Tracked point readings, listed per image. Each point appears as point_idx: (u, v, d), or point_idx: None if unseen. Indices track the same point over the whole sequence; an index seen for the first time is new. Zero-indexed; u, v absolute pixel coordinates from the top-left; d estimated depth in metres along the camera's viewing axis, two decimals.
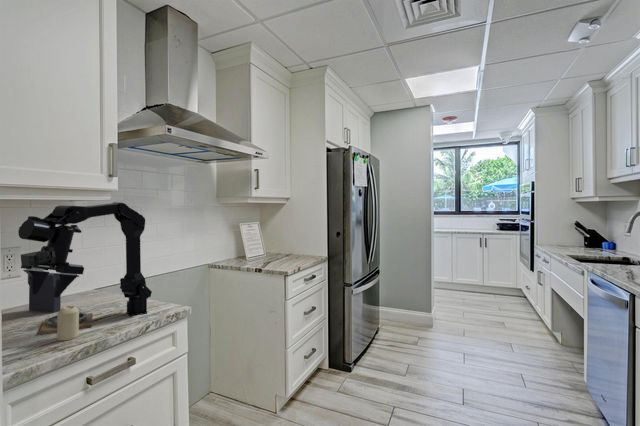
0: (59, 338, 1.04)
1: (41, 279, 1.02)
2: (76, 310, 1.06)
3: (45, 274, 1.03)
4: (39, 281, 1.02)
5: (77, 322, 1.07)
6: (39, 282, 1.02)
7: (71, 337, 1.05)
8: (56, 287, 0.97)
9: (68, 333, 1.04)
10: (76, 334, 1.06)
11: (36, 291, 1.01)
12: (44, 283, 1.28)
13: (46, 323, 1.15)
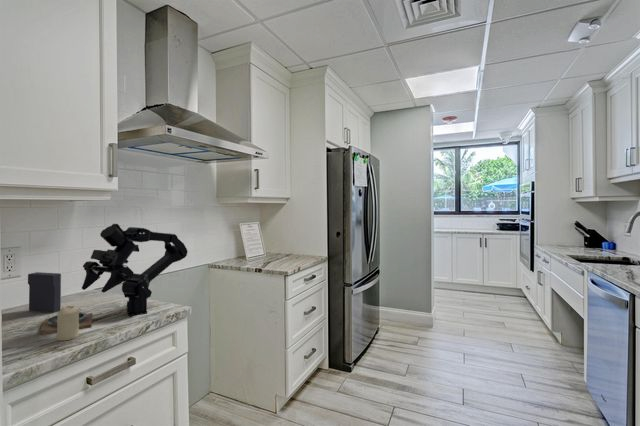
0: (59, 338, 1.04)
1: (92, 280, 1.19)
2: (76, 310, 1.06)
3: (97, 277, 1.21)
4: (91, 280, 1.18)
5: (77, 322, 1.07)
6: (90, 282, 1.18)
7: (71, 337, 1.05)
8: (107, 283, 1.13)
9: (68, 333, 1.04)
10: (76, 334, 1.06)
11: (85, 287, 1.16)
12: (44, 283, 1.28)
13: (46, 323, 1.15)
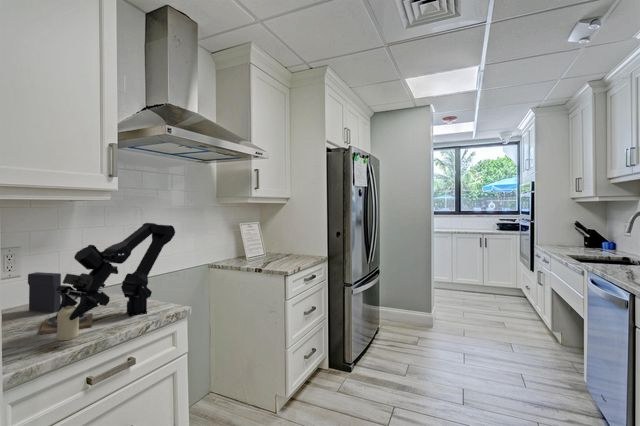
0: (59, 338, 1.04)
1: None
2: None
3: (74, 303, 1.11)
4: None
5: (77, 322, 1.07)
6: None
7: (71, 337, 1.05)
8: (76, 309, 1.05)
9: (68, 333, 1.04)
10: (76, 334, 1.06)
11: None
12: (44, 283, 1.28)
13: (46, 323, 1.15)
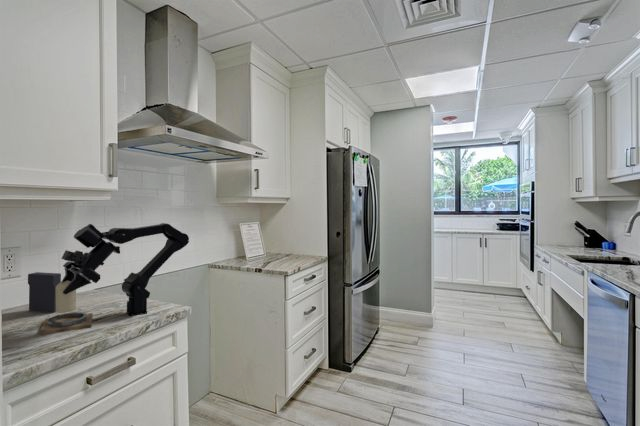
0: (56, 310, 1.10)
1: (71, 281, 1.16)
2: None
3: None
4: None
5: (72, 297, 1.12)
6: None
7: (66, 310, 1.11)
8: (69, 284, 1.10)
9: (62, 306, 1.10)
10: (71, 308, 1.12)
11: None
12: (44, 283, 1.28)
13: (46, 323, 1.15)
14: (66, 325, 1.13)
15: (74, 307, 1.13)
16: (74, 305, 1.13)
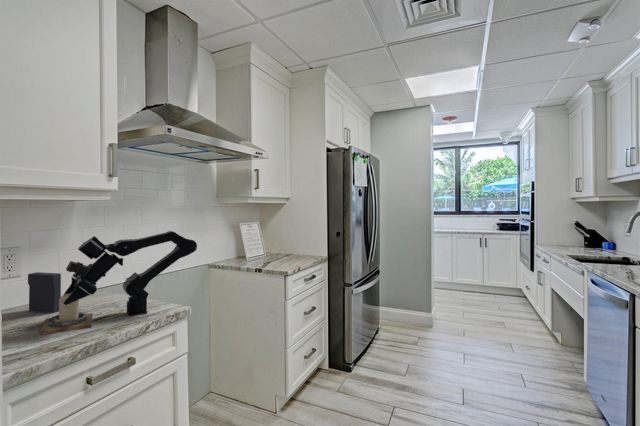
0: (59, 321, 1.16)
1: None
2: None
3: None
4: (73, 290, 1.22)
5: (73, 309, 1.17)
6: (73, 291, 1.22)
7: None
8: (69, 295, 1.13)
9: (63, 317, 1.15)
10: (72, 319, 1.16)
11: None
12: (44, 283, 1.28)
13: (46, 323, 1.15)
14: (66, 325, 1.13)
15: (75, 319, 1.17)
16: (75, 317, 1.17)
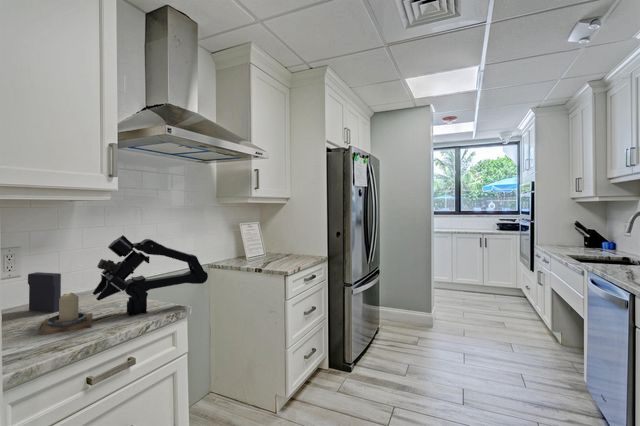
0: (59, 321, 1.16)
1: (105, 286, 1.29)
2: (73, 297, 1.16)
3: None
4: (103, 287, 1.28)
5: (73, 309, 1.17)
6: (102, 288, 1.28)
7: None
8: (101, 291, 1.19)
9: (63, 317, 1.15)
10: (72, 319, 1.16)
11: (96, 293, 1.26)
12: (44, 283, 1.28)
13: (46, 323, 1.15)
14: (66, 325, 1.13)
15: (75, 319, 1.17)
16: (75, 317, 1.17)
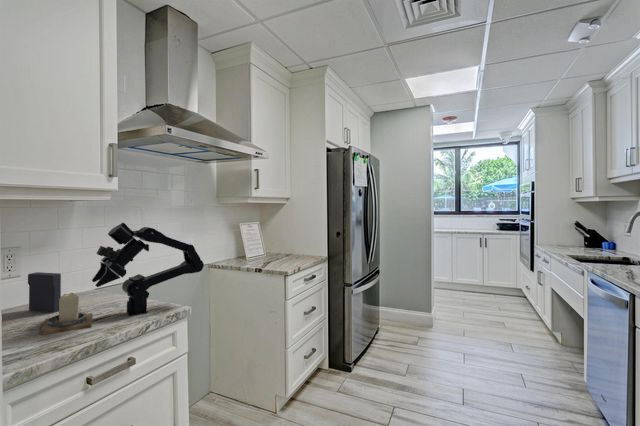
0: (59, 321, 1.16)
1: (104, 274, 1.28)
2: (73, 297, 1.16)
3: None
4: (102, 274, 1.28)
5: (73, 309, 1.17)
6: (102, 275, 1.28)
7: None
8: (101, 278, 1.19)
9: (63, 317, 1.15)
10: (72, 319, 1.16)
11: (95, 280, 1.26)
12: (44, 283, 1.28)
13: (46, 323, 1.15)
14: (66, 325, 1.13)
15: (75, 319, 1.17)
16: (75, 317, 1.17)
